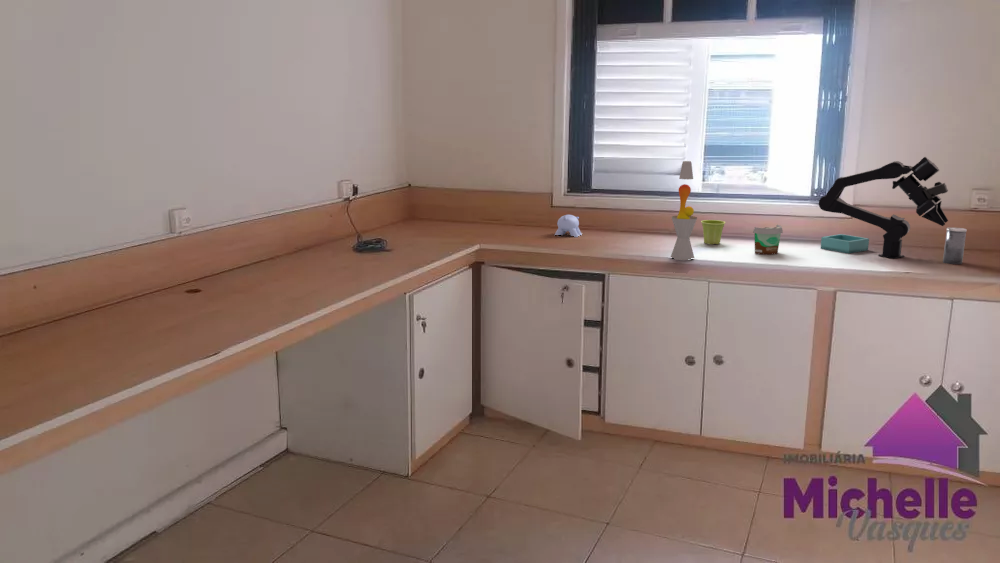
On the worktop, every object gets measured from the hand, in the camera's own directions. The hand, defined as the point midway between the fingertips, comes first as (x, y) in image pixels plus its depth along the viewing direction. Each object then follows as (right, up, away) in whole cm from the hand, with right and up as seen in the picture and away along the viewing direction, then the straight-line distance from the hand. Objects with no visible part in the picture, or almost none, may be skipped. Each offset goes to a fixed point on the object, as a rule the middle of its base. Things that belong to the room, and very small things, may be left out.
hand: (945, 223), depth 283 cm
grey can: (+3, -14, +1) cm, 14 cm away
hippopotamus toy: (-126, -1, +61) cm, 140 cm away
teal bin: (-25, -8, +26) cm, 36 cm away
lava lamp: (-90, -12, +11) cm, 91 cm away
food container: (-55, -10, +18) cm, 59 cm away
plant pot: (-71, -5, +40) cm, 82 cm away
